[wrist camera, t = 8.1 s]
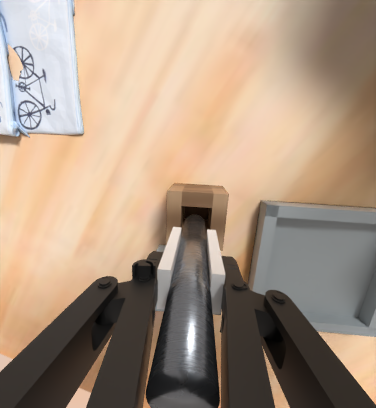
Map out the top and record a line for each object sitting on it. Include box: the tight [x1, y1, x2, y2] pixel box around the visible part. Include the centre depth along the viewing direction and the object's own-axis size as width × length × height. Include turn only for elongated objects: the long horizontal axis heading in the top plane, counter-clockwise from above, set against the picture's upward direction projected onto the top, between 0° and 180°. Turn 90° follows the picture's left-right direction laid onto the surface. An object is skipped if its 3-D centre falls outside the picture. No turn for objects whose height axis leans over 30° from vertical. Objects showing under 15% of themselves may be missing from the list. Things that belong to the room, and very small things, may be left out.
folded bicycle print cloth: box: [0, 0, 84, 138], centre depth 24 cm, size 19×20×2 cm
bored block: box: [166, 183, 229, 251], centre depth 25 cm, size 7×7×6 cm
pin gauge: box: [146, 214, 220, 408], centre depth 14 cm, size 2×2×16 cm
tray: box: [248, 200, 376, 337], centre depth 28 cm, size 20×20×2 cm
